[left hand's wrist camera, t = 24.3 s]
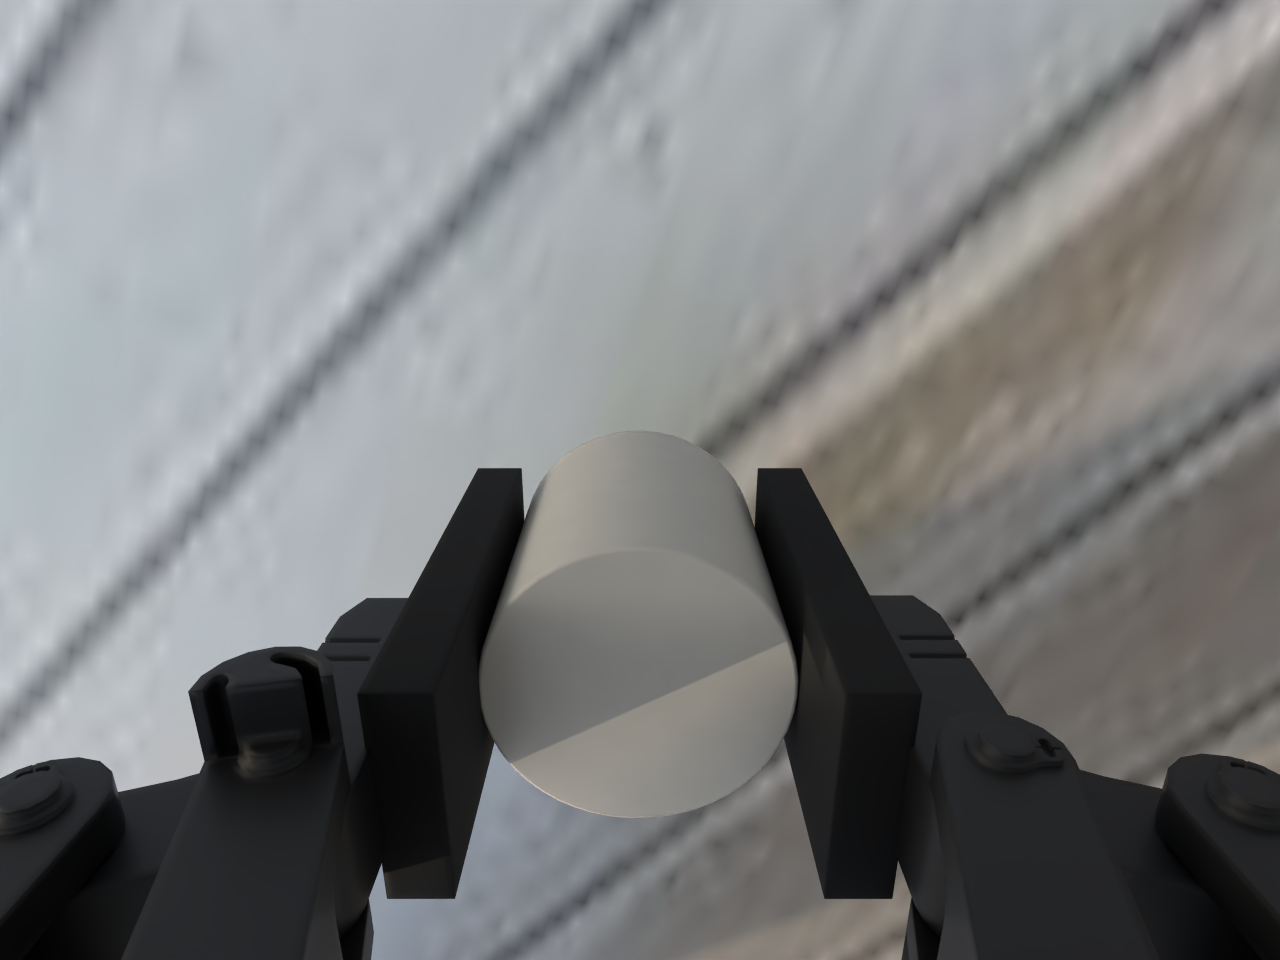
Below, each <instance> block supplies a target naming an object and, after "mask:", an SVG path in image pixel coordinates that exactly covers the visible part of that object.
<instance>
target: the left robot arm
mask: <svg viewBox="0 0 1280 960" xmlns="http://www.w3.org/2000/svg"><path fill="white" fill-rule="evenodd" d="M523 524H524V505H523V486H522V468H478V470H477V472H476V474H475V475H474V477H473V479H472V481H471V483H470V485H469V487H468V488H467V490H466V492H465V494H464V496H463V498H462V500H461V501H460V503H459V505H458V507H457V509H456V511H455V513H454V514H453V516H452V518H451V520H450V522H449V524H448V526H447V527H446V529H445V531H444V533H443V535H442V537H441V539H440V540H439V542H438V544H437V546H436V548H435V550H434V552H433V553H432V555H431V557H430V559H429V561H428V563H427V565H426V566H425V568H424V570H423V572H422V574H421V576H420V578H419V579H418V581H417V583H416V585H415V587H414V589H413V591H412V592H411V594H410V596H409V598H366V599H365V600H364V601H362V602H361V603H359V604H358V605H356V606H355V607H353V608H352V609H351V610H349V611H348V612H346V613H345V614H343V615H342V616H340V618H339V619H338V621H337V622H336V624H335V625H334V627H333V628H332V630H331V631H330V632H329V634H328V635H327V637H326V638H325V639H326V641H325V643H322V644H321V646H320V647H319V649H318V650H317V651H315V650H311V649H307V648H303V647H272V648H267V649H262V650H257V651H252V652H248V653H245V654H243V655H240V656H238V657H235V658H232V659H230V660H227V661H225V662H222V663H221V664H219V665H218V666H216V667H215V668H213V669H211V670H210V671H208V672H207V673H205V674H204V675H202V676H201V677H200V678H199V679H198V681H197V682H196V683H195V684H194V685H193V687H192V688H191V689H190V690H189V691H188V692H189V697H190V701H191V705H192V709H193V714H194V718H195V722H196V726H197V731H198V735H199V739H200V744H201V748H202V752H203V756H204V761H205V762H204V764H203V767H202V769H201V771H200V773H199V774H195V775H192V776H188V777H185V778H181V779H178V780H173V781H169V782H164V783H159V784H155V785H150V786H145V787H141V788H136V789H131V790H127V791H122V792H118V791H117V788H116V784H115V781H114V777H113V774H112V771H111V770H110V769H108V768H107V767H106V766H105V765H104V764H103V763H101V762H100V761H96V760H90V759H85V758H79V757H77V758H67V759H58V760H50V761H46V762H42V763H37V764H36V765H33V766H32V765H30V766H28V767H25V768H22V769H19V770H17V771H14V772H13V773H11V774H9V775H7V776H5V777H3V778H1V779H0V960H371V954H372V945H373V935H374V931H373V924H372V917H371V910H370V904H369V896H370V893H371V890H372V888H373V885H374V882H375V880H376V877H377V874H378V872H379V869H380V866H381V864H382V867H383V874H384V881H385V887H386V894H387V899H455V896H456V892H457V888H458V884H459V880H460V877H461V873H462V869H463V865H464V861H465V857H466V853H467V849H468V845H469V841H470V837H471V833H472V829H473V825H474V821H475V817H476V813H477V809H478V805H479V801H480V797H481V793H482V789H483V785H484V782H485V778H486V774H487V770H488V766H489V762H490V758H491V754H492V750H493V746H494V740H493V739H492V737H491V734H490V732H489V730H488V728H487V725H486V723H485V721H484V717H483V713H482V709H481V700H480V689H479V662H480V657H481V652H482V648H483V645H484V642H485V639H486V636H487V633H488V630H489V627H490V624H491V621H492V618H493V615H494V612H495V609H496V606H497V603H498V600H499V597H500V594H501V591H502V588H503V585H504V582H505V579H506V575H507V572H508V569H509V566H510V563H511V560H512V557H513V554H514V551H515V548H516V545H517V542H518V539H519V536H520V533H521V530H522V527H523ZM755 531H756V534H757V537H758V540H759V543H760V546H761V549H762V552H763V556H764V559H765V562H766V565H767V568H768V571H769V574H770V577H771V580H772V583H773V586H774V589H775V592H776V595H777V599H778V602H779V605H780V608H781V611H782V614H783V617H784V620H785V623H786V626H787V629H788V632H789V635H790V639H791V642H792V645H793V649H794V653H795V656H796V660H797V669H798V696H797V701H796V706H795V711H794V714H793V717H792V720H791V723H790V725H789V728H788V731H787V733H786V735H785V736H784V740H785V744H786V748H787V752H788V756H789V760H790V764H791V768H792V772H793V776H794V780H795V784H796V788H797V792H798V796H799V800H800V804H801V807H802V811H803V815H804V819H805V823H806V827H807V831H808V835H809V839H810V843H811V847H812V851H813V855H814V859H815V863H816V867H817V871H818V875H819V879H820V883H821V887H822V891H823V895H824V899H892V897H893V890H894V884H895V877H896V870H897V863H898V861H899V864H900V866H901V869H902V872H903V874H904V877H905V880H906V883H907V885H908V888H909V891H910V893H911V896H912V897H911V904H910V910H909V916H908V923H907V929H906V935H905V942H904V948H903V954H902V960H1280V775H1279V774H1277V773H1275V772H1273V771H1271V770H1269V769H1267V768H1266V767H1264V766H1261V765H1258V764H1255V763H1252V762H1249V761H1248V762H1247V761H1244V760H1242V759H1237V758H1233V757H1229V756H1219V755H1210V754H1197V755H1192V756H1186V757H1181V758H1179V759H1178V760H1177V761H1176V762H1175V763H1174V764H1172V765H1171V766H1170V767H1169V768H1168V771H1167V775H1166V778H1165V782H1164V785H1163V789H1160V788H1156V787H1151V786H1146V785H1142V784H1137V783H1132V782H1128V781H1123V780H1118V779H1113V778H1109V777H1104V776H1100V775H1097V774H1093V773H1090V772H1086V771H1082V770H1080V769H1079V768H1078V765H1077V763H1076V760H1075V759H1074V758H1073V756H1072V755H1071V753H1070V752H1069V751H1068V749H1067V748H1066V746H1065V745H1064V744H1063V743H1062V742H1061V741H1059V740H1058V739H1057V738H1055V737H1054V736H1053V735H1051V734H1050V733H1049V732H1047V731H1046V730H1045V729H1043V728H1041V727H1039V726H1037V725H1034V724H1032V723H1030V722H1028V721H1025V720H1023V719H1021V718H1019V717H1014V716H1010V715H1007V713H1006V712H1005V710H1004V709H1003V707H1002V706H1001V704H1000V703H999V701H998V700H997V698H996V697H995V695H994V694H993V692H992V691H991V689H990V688H989V686H988V685H987V683H986V682H985V681H984V679H983V678H982V676H981V675H980V673H979V672H978V670H977V669H976V667H975V666H974V664H973V663H972V661H971V660H970V658H967V657H966V652H965V651H964V649H963V648H962V646H961V645H960V643H959V642H958V640H955V639H954V634H953V633H952V631H951V630H950V629H949V627H948V626H947V624H946V623H945V621H944V620H943V618H942V617H941V615H940V614H939V613H937V612H936V611H935V610H933V609H932V608H930V607H929V606H927V605H926V604H924V603H923V602H921V601H920V600H918V599H917V598H916V597H914V596H870V595H869V594H868V592H867V590H866V588H865V586H864V584H863V582H862V581H861V579H860V577H859V575H858V573H857V571H856V569H855V568H854V566H853V564H852V562H851V560H850V558H849V556H848V555H847V553H846V551H845V549H844V547H843V545H842V543H841V542H840V540H839V538H838V536H837V534H836V532H835V530H834V528H833V527H832V525H831V523H830V521H829V519H828V517H827V515H826V514H825V512H824V510H823V508H822V506H821V504H820V502H819V501H818V499H817V497H816V495H815V493H814V491H813V489H812V488H811V486H810V484H809V482H808V480H807V478H806V476H805V475H804V473H803V471H802V469H801V468H758V476H757V494H756V513H755Z"/></svg>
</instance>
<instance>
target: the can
mask: <svg viewBox="0 0 1280 960" xmlns="http://www.w3.org/2000/svg"><path fill="white" fill-rule="evenodd" d="M479 689H480V700H481V709H482V713H483V717H484V721H485V723H486V725H487V728H488V730H489V732H490V734H491V737H492V739H493V740H494V742H495V744H496V745H497V747H498V748H499V750H500V752H501V753H502V755H503V756H504V757H505V758H506V759H507V761H508V762H509V763H510V764H511V765H512V767H513V768H514V769H515V770H516V771H517V772H519V773H520V774H521V775H522V776H523V777H524V778H525V779H526V780H527V781H529V782H530V783H531V784H533V785H534V786H536V787H537V788H538V789H540V790H541V791H543V792H544V793H546V794H548V795H550V796H551V797H553V798H555V799H557V800H559V801H561V802H563V803H566V804H568V805H571V806H573V807H575V808H578V809H582V810H585V811H589V812H592V813H596V814H601V815H607V816H612V817H623V818H655V817H663V816H670V815H675V814H679V813H684V812H688V811H692V810H694V809H697V808H700V807H703V806H706V805H709V804H711V803H713V802H715V801H717V800H719V799H721V798H723V797H725V796H727V795H728V794H730V793H732V792H733V791H735V790H736V789H738V788H739V787H741V786H742V785H744V784H745V783H746V782H747V781H748V780H750V779H751V778H752V777H753V776H755V775H756V774H757V773H758V772H759V771H760V770H761V769H762V767H763V766H764V765H765V764H766V763H767V762H768V761H769V760H770V758H771V757H772V756H773V754H774V753H775V752H776V750H777V749H778V747H779V746H780V744H781V742H782V740H783V738H784V736H785V735H786V733H787V731H788V728H789V725H790V723H791V720H792V717H793V714H794V711H795V706H796V701H797V696H798V669H797V660H796V656H795V653H794V649H793V645H792V642H791V639H790V635H789V632H788V629H787V626H786V623H785V620H784V617H783V614H782V611H781V608H780V605H779V602H778V599H777V595H776V592H775V589H774V586H773V583H772V580H771V577H770V574H769V571H768V568H767V565H766V562H765V559H764V556H763V552H762V549H761V546H760V543H759V540H758V537H757V534H756V531H755V528H754V525H753V522H752V519H751V516H750V512H749V509H748V506H747V503H746V501H745V498H744V496H743V494H742V492H741V489H740V488H739V486H738V485H737V483H736V481H735V480H734V478H733V477H732V476H731V474H730V473H729V472H728V471H727V470H726V468H725V467H724V466H723V465H722V464H721V463H720V462H719V461H717V460H716V459H715V458H714V457H713V456H712V455H710V454H709V453H707V452H706V451H704V450H703V449H702V448H700V447H698V446H696V445H694V444H692V443H690V442H688V441H686V440H683V439H680V438H678V437H675V436H672V435H667V434H663V433H658V432H648V431H626V432H620V433H614V434H609V435H606V436H602V437H599V438H596V439H594V440H591V441H589V442H587V443H584V444H582V445H581V446H579V447H577V448H576V449H574V450H572V451H571V452H569V453H568V454H567V455H565V456H564V457H563V458H562V459H560V460H559V461H558V462H557V463H556V464H555V465H554V466H553V467H552V468H551V469H550V470H549V471H548V473H547V474H546V475H545V477H544V478H543V480H542V481H541V482H540V484H539V486H538V488H537V490H536V491H535V493H534V495H533V498H532V501H531V503H530V506H529V509H528V512H527V515H526V518H525V521H524V524H523V527H522V530H521V533H520V536H519V539H518V542H517V545H516V548H515V551H514V554H513V557H512V560H511V563H510V566H509V569H508V572H507V575H506V579H505V582H504V585H503V588H502V591H501V594H500V597H499V600H498V603H497V606H496V609H495V612H494V615H493V618H492V621H491V624H490V627H489V630H488V633H487V636H486V639H485V642H484V645H483V648H482V652H481V657H480V662H479Z"/></svg>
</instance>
